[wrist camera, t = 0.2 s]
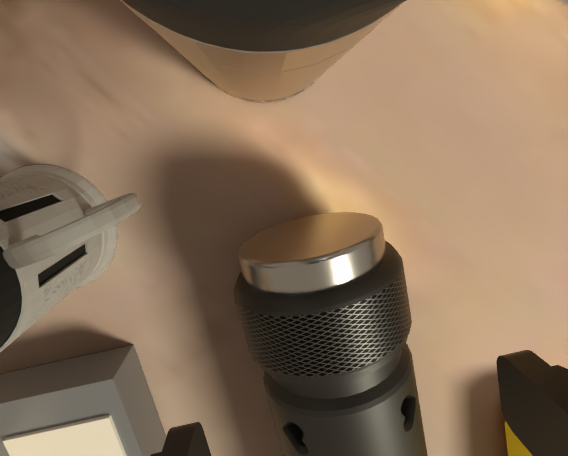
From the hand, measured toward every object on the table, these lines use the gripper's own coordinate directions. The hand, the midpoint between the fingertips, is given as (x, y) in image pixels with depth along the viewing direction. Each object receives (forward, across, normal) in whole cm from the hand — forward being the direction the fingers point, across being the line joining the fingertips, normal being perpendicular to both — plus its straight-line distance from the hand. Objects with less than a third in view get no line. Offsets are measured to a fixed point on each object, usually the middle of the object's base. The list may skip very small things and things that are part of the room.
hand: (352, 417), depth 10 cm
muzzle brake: (+18, -1, +12) cm, 22 cm away
